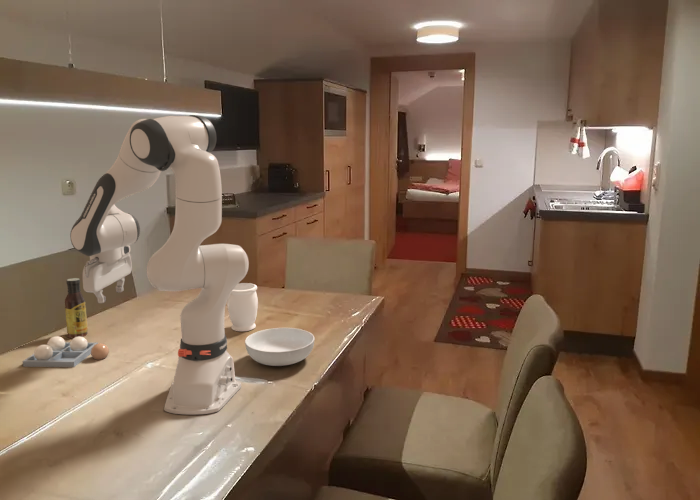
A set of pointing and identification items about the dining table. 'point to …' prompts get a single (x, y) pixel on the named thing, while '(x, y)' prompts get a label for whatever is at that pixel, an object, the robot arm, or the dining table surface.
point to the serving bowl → (279, 346)
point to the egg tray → (60, 358)
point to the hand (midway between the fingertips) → (111, 296)
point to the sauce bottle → (75, 310)
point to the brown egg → (99, 351)
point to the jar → (243, 306)
